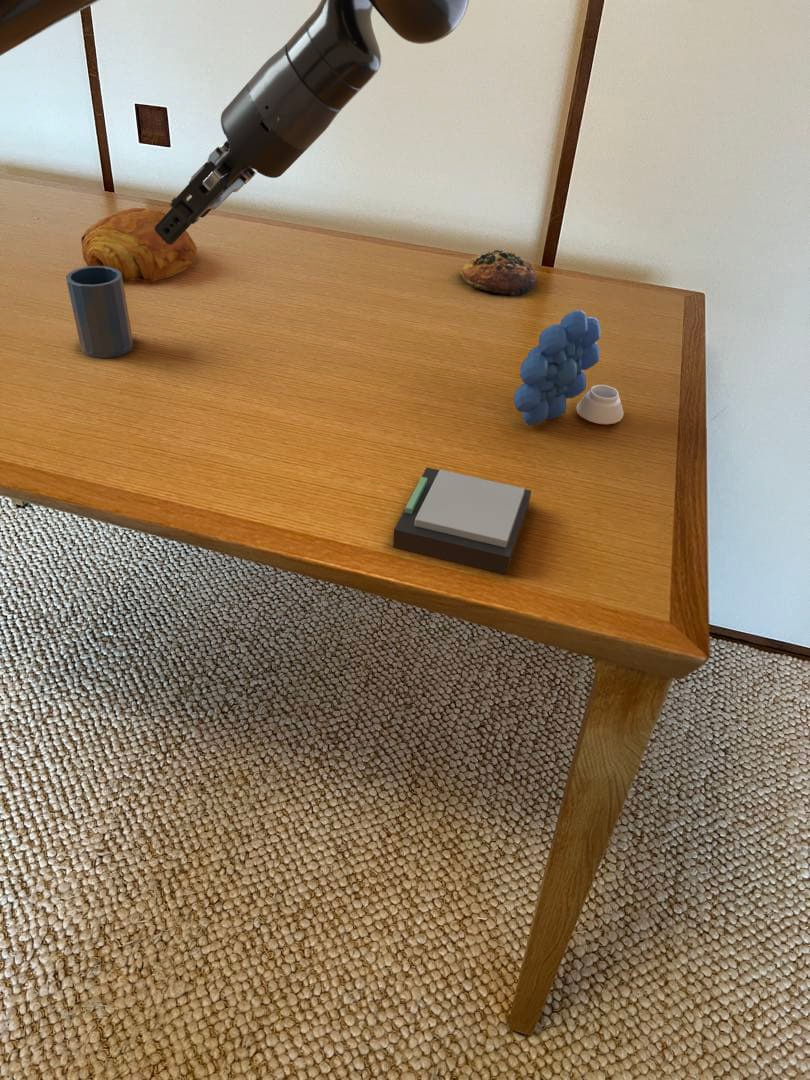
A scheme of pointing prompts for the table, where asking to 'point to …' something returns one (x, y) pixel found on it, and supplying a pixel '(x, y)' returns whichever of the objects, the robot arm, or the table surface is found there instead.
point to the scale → (463, 520)
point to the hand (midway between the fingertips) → (179, 223)
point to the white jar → (601, 405)
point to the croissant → (136, 246)
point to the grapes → (557, 367)
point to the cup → (100, 311)
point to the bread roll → (500, 273)
